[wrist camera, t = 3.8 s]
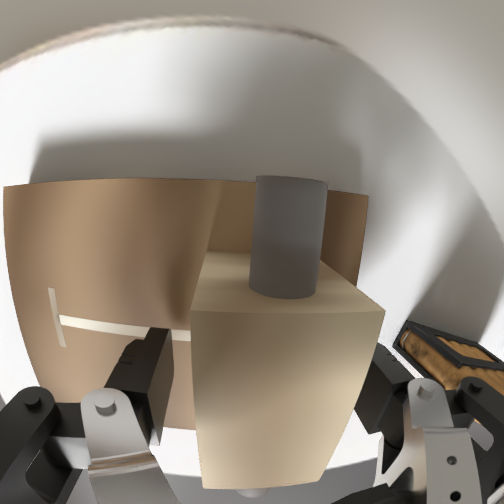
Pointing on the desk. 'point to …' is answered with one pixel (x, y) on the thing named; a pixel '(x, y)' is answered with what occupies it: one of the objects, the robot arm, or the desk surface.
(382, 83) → the desk surface
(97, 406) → the robot arm
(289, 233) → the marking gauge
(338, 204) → the walnut board
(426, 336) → the ammunition clip
